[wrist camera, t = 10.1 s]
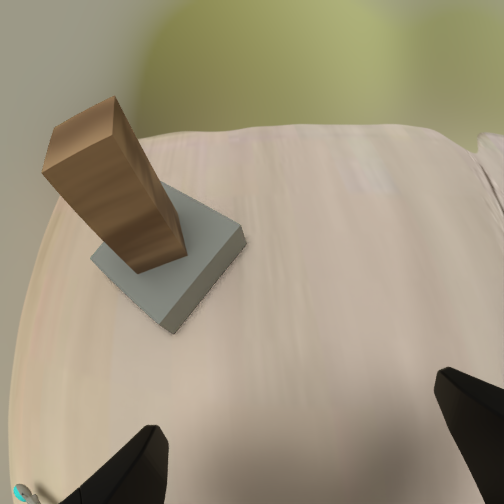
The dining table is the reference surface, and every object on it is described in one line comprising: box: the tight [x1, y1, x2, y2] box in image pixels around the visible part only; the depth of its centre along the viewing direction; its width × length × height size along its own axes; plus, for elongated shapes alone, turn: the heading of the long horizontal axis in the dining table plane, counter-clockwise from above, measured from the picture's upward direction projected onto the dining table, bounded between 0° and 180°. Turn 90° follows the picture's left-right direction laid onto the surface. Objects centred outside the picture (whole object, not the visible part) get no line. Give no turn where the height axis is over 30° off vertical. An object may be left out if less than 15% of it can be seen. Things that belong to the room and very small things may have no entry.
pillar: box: [42, 96, 188, 274], centre depth 19 cm, size 4×4×12 cm
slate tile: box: [90, 181, 247, 334], centre depth 26 cm, size 10×10×3 cm
